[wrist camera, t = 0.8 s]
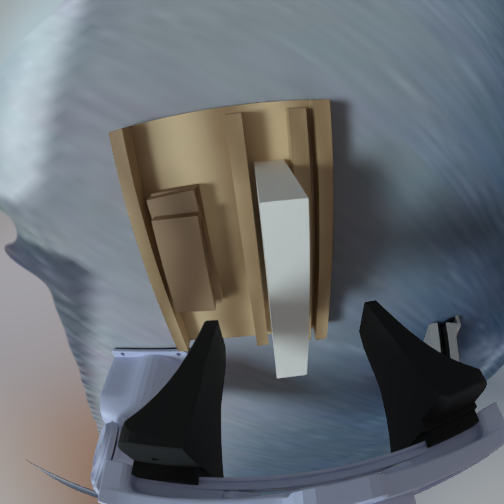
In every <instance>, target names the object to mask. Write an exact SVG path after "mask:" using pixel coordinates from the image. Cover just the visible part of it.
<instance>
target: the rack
mask: <svg viewBox="0 0 504 504" xmlns="http://www.w3.org/2000/svg"><path fill="white" fill-rule="evenodd" d="M109 136H110V141H111V146H112V151H113V155H114V160H115V164H116V168H117V173H118V177H119V181H120V185H121V189H122V193H123V196H124V200H125V204H126V207H127V211H128V214H129V218H130V221H131V225H132V228H133V231H134V234H135V238H136V241H137V244H138V247H139V250H140V253H141V256H142V259H143V262H144V265H145V268H146V271H147V274H148V276H149V279H150V282H151V285H152V288H153V290H154V293H155V296H156V298H157V301H158V303H159V306H160V308H161V311H162V313H163V316H164V318H165V321H166V323H167V326H168V328H169V331H170V333H171V335H172V338H173V340H174V342H175V345H176V347H177V349H178V351H188V350H189V345H190V340H196V338H197V336H198V334H199V332H200V330H201V328H202V326H203V324H204V322H205V321H209V320H218V322H219V325H220V329H221V333H222V337H223V338H229V337H241V336H253V335H256V340H257V346H259V345H269V344H268V334H272V327H271V318H270V309H269V299H268V289H267V279H266V270H265V260H264V250H263V241H262V231H261V222H260V213H259V204H258V195H257V186H256V177H255V168H254V162H260V161H270V160H281V159H284V161H285V162H286V164H287V165H288V167H289V168H290V170H291V171H292V173H293V174H294V176H295V177H296V179H297V181H298V182H299V184H300V185H301V187H302V188H303V190H304V192H305V193H306V195H307V196H308V199H309V235H310V303H309V339H308V340H310V338H311V329H313V330H314V334H315V338H316V340H318V339H325V338H327V328H328V317H329V305H330V291H331V274H332V253H333V210H334V191H333V148H332V128H331V112H330V99H326V100H291V101H275V102H263V103H253V104H243V105H235V106H227V107H220V108H214V109H207V110H201V111H196V112H190V113H185V114H180V115H175V116H170V117H166V118H161V119H157V120H153V121H149V122H145V123H141V124H137V125H133V126H130V127H126V128H122V129H119V130H115V131H112V132H109ZM193 184H199V187H200V192H201V197H202V203H203V208H204V213H205V218H206V224H207V229H208V234H209V239H210V244H211V248H212V253H213V257H214V261H215V265H216V268H217V272H218V276H219V279H220V283H221V286H222V290H223V293H224V294H223V299H222V303H217V304H216V309H215V311H197V312H176V309H175V306H174V303H173V299H172V296H171V293H170V289H169V286H168V283H167V279H166V276H165V272H164V268H163V265H162V261H161V257H160V254H159V250H158V246H157V242H156V238H155V234H154V230H153V226H152V222H151V221H152V217H151V214H150V211H149V208H148V205H147V201H146V200H147V199H148V198H149V197H151V193H152V192H153V191H157V190H162V189H168V188H174V187H180V186H186V185H193Z"/></svg>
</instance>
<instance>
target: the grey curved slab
mask: <svg viewBox="0 0 504 504" xmlns="http://www.w3.org/2000/svg"><path fill="white" fill-rule="evenodd" d="M460 326H461V323H460V319H459V316H458V315H457V316H455V319H454V322H453V323H449V322H446V325H444V326H443V328H442V331H441V328H440V326H438V323H432V324H430V325H429V326H428V329H427V332H426V335H425V338H424V341H423V342H425V343H426V344H428V345H429V346H431V347H432V348H434V349H435V350H437V351H439V352H440V353H442V354H444V355H446V356H448V357H450V358H452V359H454V360H456V361H458V362H459V353H458V346H457V338H456V336H457V334H458V331H459V329H460Z"/></svg>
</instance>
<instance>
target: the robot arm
mask: <svg viewBox="0 0 504 504" xmlns="http://www.w3.org/2000/svg"><path fill="white" fill-rule="evenodd" d="M359 332H360V336H361V340H362V343H363V347H364V350H365V352H366V355H367V357H368V360H369V362H370V364H371V367H372V369H373V372H374V374H375V377H376V379H377V382H378V385H379V388H380V391H381V395H382V399H383V403H384V408H385V413H386V418H387V424H388V430H389V437H390V447H391V453H390V454H386V455H383V456H380V457H376V458H373V459H369V460H365V461H361V462H357V463H353V464H349V465H344V466H340V467H335V468H330V469H324V470H318V471H312V472H305V473H298V474H289V475H280V476H267V477H247V478H224V477H223V464H222V446H221V402H222V393H223V384H224V375H225V366H226V353H225V344H224V340H223V337H222V333H221V329H220V325H219V322H218V320H209V321H205V322H204V324H203V326H202V328H201V330H200V332H199V334H198V336H197V338H196V340H195V342H194V344H193V345H192V347H191V349H190V351H189V352H188V351H178V349H113V351H112V354H113V355H114V360H113V362H112V365H111V368H110V370H109V373H108V376H107V379H106V381H105V384H104V387H103V390H102V393H101V397H100V412H101V416H102V418H103V420H104V422H105V423H106V424H105V425H104V427H103V429H102V431H101V434H100V437H99V440H98V443H97V447H96V450H95V454H94V459H93V468H92V472H91V482H92V486H93V489H94V490H95V491H96V493H97V494H98V500H97V501H98V502H99V503H102V504H416V502H415V498H414V495H415V494H418V493H420V492H422V491H424V490H427V489H429V488H431V487H433V486H435V485H437V484H440V483H442V482H444V481H445V480H447V479H449V478H451V477H453V476H455V475H457V474H459V473H461V472H462V471H464V470H466V469H468V468H469V467H471V466H473V465H474V464H476V463H478V462H479V461H481V460H483V459H484V458H486V457H487V456H489V455H490V454H492V453H493V452H494V451H495V450H497V449H498V448H499V447H501V446H502V445H503V444H504V419H503V416H502V414H501V412H500V410H499V408H498V406H497V404H496V403H493V404H491V405H489V406H488V407H486V408H484V409H482V410H481V411H479V412H478V413H477V414H476V412H475V410H474V409H476V407H477V406H476V404H475V401H476V399H477V398H478V397H479V396H480V395H481V393H482V392H483V391H484V389H485V388H486V385H487V382H486V380H485V378H484V376H483V374H482V373H481V371H480V369H477V368H474V367H471V366H468V365H466V364H463V363H461V362H458V361H456V360H454V359H452V358H450V357H448V356H446V355H444V354H442V353H440V352H439V351H437V350H435V349H434V348H432V347H431V346H429V345H428V344H426V343H425V342H423V341H422V340H420V339H419V338H418V337H416V336H415V335H414V334H413V333H411V332H410V331H409V330H408V329H406V328H405V327H404V326H403V325H402V324H401V323H400V322H398V321H397V320H396V319H395V318H394V317H393V316H392V315H391V314H390V313H389V312H388V311H386V310H385V309H384V308H383V307H382V306H381V305H380V304H379V303H378V302H377V301H370V302H365V303H364V309H363V314H362V320H361V325H360V330H359ZM377 472H381V473H377ZM302 488H303V489H302ZM294 489H300V490H296V491H293V492H287V493H281V494H273V495H264V496H260V494H259V493H256V492H273V491H285V490H294Z"/></svg>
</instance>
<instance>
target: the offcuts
mask: <svg viewBox="0 0 504 504" xmlns="http://www.w3.org/2000/svg"><path fill="white" fill-rule="evenodd" d="M146 201H147V205H148V208H149V211H150V214H151V217H152V221H151V222H152V226H153V230H154V234H155V238H156V242H157V246H158V250H159V254H160V257H161V261H162V265H163V268H164V272H165V276H166V279H167V283H168V286H169V289H170V293H171V296H172V299H173V303H174V306H175V309H176V312H197V311H215V309H216V304H217V303H222V299H223V294H224V293H223V290H222V286H221V283H220V279H219V276H218V272H217V268H216V265H215V261H214V257H213V253H212V248H211V244H210V239H209V234H208V229H207V224H206V218H205V213H204V208H203V203H202V197H201V192H200V187H199V184H193V185H186V186H180V187H174V188H168V189H162V190H157V191H153V192H152V193H151V197H149V198H148V199H147V200H146Z"/></svg>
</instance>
